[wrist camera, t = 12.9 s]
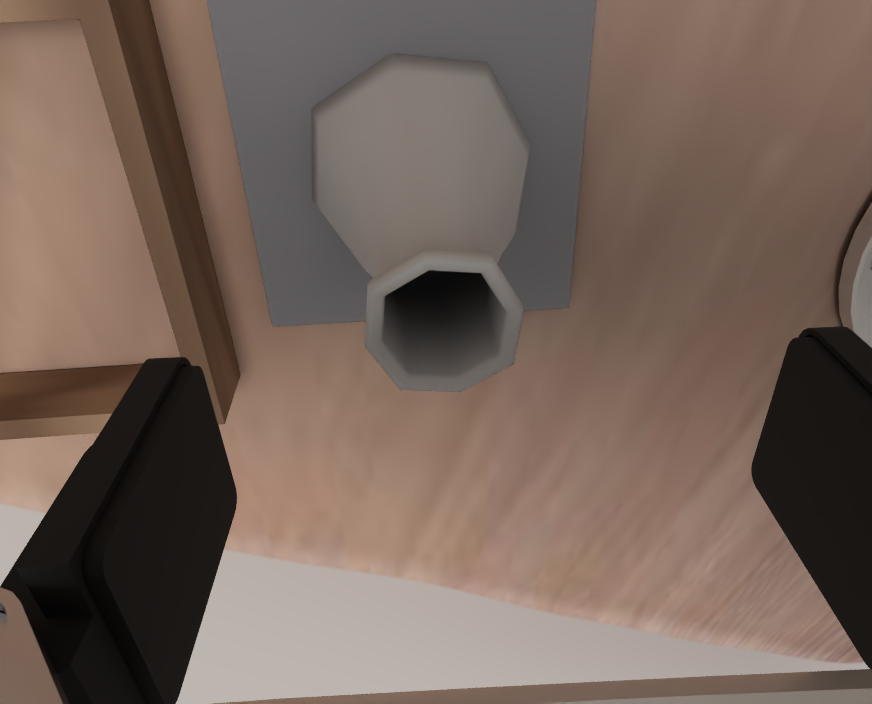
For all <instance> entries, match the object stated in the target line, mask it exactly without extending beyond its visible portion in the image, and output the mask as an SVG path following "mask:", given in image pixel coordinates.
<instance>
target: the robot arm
mask: <svg viewBox="0 0 872 704" xmlns="http://www.w3.org/2000/svg"><path fill="white" fill-rule="evenodd" d="M838 292H839V314H840V318H841V321H842V324H843V327H822V328H808V329H805V330H803V332H802V333H801V334H800V335H799V337H798V338H794V339H792V340H791V341H790V343H789V345H788V347H787V351H786V354H785V357H784V360H783V364H782V367H781V370H780V374H779V377H778V380H777V383H776V387H775V390H774V393H773V396H772V400H771V403H770V406H769V410H768V413H767V416H766V419H765V423H764V426H763V429H762V432H761V436H760V439H759V442H758V446H757V449H756V452H755V455H754V459H753V462H752V478H753V481H754V484H755V486H756V488H757V490H758V491H759V493H760V494H761V496H762V498H763V499H764V501H765V502H766V504H767V506H768V507H769V509H770V511H771V512H772V514H773V515H774V517H775V519H776V520H777V522H778V523H779V525H780V527H781V528H782V530H783V531H784V533H785V535H786V536H787V538H788V540H789V541H790V543H791V544H792V546H793V548H794V549H795V551H796V552H797V554H798V556H799V557H800V559H801V561H802V562H803V564H804V565H805V567H806V569H807V570H808V572H809V573H810V575H811V577H812V578H813V580H814V581H815V583H816V585H817V586H818V588H819V590H820V591H821V593H822V594H823V596H824V598H825V599H826V601H827V602H828V604H829V606H830V607H831V609H832V610H833V612H834V614H835V615H836V617H837V619H838V620H839V622H840V623H841V625H842V627H843V628H844V630H845V631H846V633H847V635H848V636H849V638H850V640H851V641H852V643H853V644H854V646H855V648H856V649H857V651H858V652H859V654H860V656H861V657H862V659H863V660H864V662H865V663H866V665H867V666H868V667H869V668H870V669H865V670H842V671H821V672H820V671H819V672H798V673H797V672H796V673H775V674H752V675H729V676H706V677H688V678H687V677H686V678H666V679H647V680H646V679H645V680H625V681H604V682H584V683H567V684H566V683H565V684H546V685H526V686H506V687H486V688H468V689H450V690H449V689H448V690H431V691H414V692H413V691H412V692H395V693H377V694H359V695H340V696H322V697H305V698H286V699H270V700H257V701H244V702H229V703H215V704H872V202H871V204H870V206H869V208H868V209H867V211H866V213H865V214H864V216H863V218H862V220H861V221H860V223H859V225H858V226H857V228H856V230H855V232H854V235H853V238H852V240H851V243H850V245H849V248H848V250H847V253H846V256H845V258H844V261H843V267H842V272H841V277H840V283H839V288H838ZM236 504H237V493H236V487H235V483H234V480H233V476H232V473H231V469H230V466H229V462H228V458H227V455H226V451H225V448H224V444H223V440H222V437H221V433H220V430H219V426H218V423H217V419H216V415H215V412H214V408H213V405H212V401H211V397H210V394H209V390H208V387H207V383H206V380H205V376H204V373H203V370H202V368H201V367H200V366H191V363H190V361H189V360H188V359H187V358H185V357H176V358H154V359H147V360H146V361H145V362H144V363H143V365H142V367H141V368H140V370H139V371H138V373H137V375H136V376H135V378H134V380H133V381H132V383H131V384H130V386H129V388H128V389H127V391H126V392H125V394H124V396H123V397H122V399H121V400H120V402H119V404H118V405H117V407H116V408H115V410H114V412H113V413H112V415H111V416H110V418H109V420H108V421H107V423H106V424H105V426H104V428H103V429H102V431H101V432H100V434H99V436H98V437H97V439H96V440H95V442H94V444H93V445H92V446H90V447H89V449H88V450H87V451H86V452H85V453H84V455H83V456H82V458H81V459H80V461H79V463H78V464H77V466H76V467H75V469H74V470H73V472H72V474H71V475H70V477H69V478H68V480H67V482H66V483H65V485H64V486H63V488H62V489H61V491H60V493H59V494H58V496H57V497H56V499H55V501H54V502H53V504H52V505H51V507H50V509H49V510H48V512H47V513H46V515H45V516H44V518H43V520H42V521H41V523H40V525H39V526H38V528H37V529H36V531H35V532H34V534H33V535H32V537H31V539H30V540H29V542H28V543H27V545H26V547H25V548H24V550H23V552H22V553H21V555H20V556H19V558H18V559H17V561H16V562H15V564H14V566H13V567H12V569H11V571H10V572H9V574H8V575H7V577H6V578H5V580H4V581H3V583H2V585H1V586H0V704H175V703H176V701H177V699H178V697H179V694H180V690H181V687H182V683H183V681H184V677H185V674H186V670H187V667H188V664H189V661H190V658H191V654H192V651H193V648H194V644H195V641H196V638H197V635H198V632H199V628H200V625H201V622H202V619H203V615H204V612H205V609H206V605H207V602H208V599H209V595H210V592H211V589H212V586H213V582H214V579H215V576H216V573H217V569H218V566H219V563H220V560H221V556H222V553H223V550H224V547H225V543H226V540H227V537H228V534H229V530H230V527H231V524H232V520H233V517H234V514H235V510H236Z"/></svg>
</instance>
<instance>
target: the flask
mask: <svg viewBox="0 0 872 704" xmlns="http://www.w3.org/2000/svg"><path fill="white" fill-rule="evenodd" d="M311 131H312V201H313V202H314V204H315V205H316V206H317V208H318V209H319V210H320V212H321V213H322V214H323V216H324V217H325V218H326V219H327V221H328V222H329V223H330V225H331V226H332V227H333V229H334V230H335V231H336V233H337V234H338V235H339V237H340V238H341V239H342V241H343V242H344V243H345V245H346V246H347V247H348V249H349V250H350V251H351V253H352V254H353V255H354V257H355V258H356V259H357V261H358V262H359V263H360V264H361V266H362V267H363V268H364V269H365V271H366V272H367V273H368V274H370V275H371V276H372V278H373V279H372V280H370V282H369V283H368V285H367V307H366V329H365V347H366V349H367V350H368V351H369V352H370V353H371V355H372V356H373V357H374V358H375V360H376V361H377V362H378V363H379V364H380V366H381V367H382V368H383V369H384V371H385V372H386V373H387V374H388V375H389V377H390V378H391V379H392V380H393V382H394V383H395V384H396V385H397V386H398V388H399V389H400V390H421V391H447V392H461V391H463V390H465V389H467V388H469V387H471V386H473V385H475V384H477V383H478V382H480V381H482V380H484V379H486V378H488V377H490V376H492V375H494V374H496V373H497V372H499V371H501V370H503V369H505V368H507V367H509V366H511V365H513V364H514V358H515V353H516V348H517V343H518V338H519V333H520V327H521V322H522V317H523V312H524V309H523V305H522V303H521V302H520V300H519V298H518V297H517V295H516V294H515V292H514V290H513V289H512V287H511V285H510V284H509V282H508V281H507V279H506V277H505V276H504V274H503V273H502V271H501V269H500V268H499V266H498V262H499V259H500V257H501V255H502V253H503V252H504V250H505V249H506V247H507V246H508V244H509V243H510V241H511V240H512V238H513V237H514V235H515V233H516V231H517V225H518V219H519V213H520V208H521V202H522V196H523V190H524V185H525V179H526V173H527V167H528V162H529V156H530V150H531V144H530V142H529V140H528V138H527V137H526V135H525V133H524V131H523V129H522V127H521V125H520V123H519V121H518V119H517V117H516V116H515V114H514V112H513V110H512V108H511V106H510V104H509V102H508V100H507V98H506V96H505V94H504V93H503V91H502V89H501V87H500V85H499V83H498V81H497V79H496V77H495V75H494V73H493V72H492V70H491V68H490V66H489V64H488V63H484V62H473V61H462V60H452V59H441V58H431V57H420V56H409V55H399V54H390V55H388V56H387V57H386V58H384V59H383V60H381V61H380V62H378V63H377V64H375V65H374V66H372V67H371V68H370V69H368V70H367V71H365V72H364V73H362V74H361V75H359V76H358V77H356V78H355V79H354V80H352V81H351V82H349V83H348V84H346V85H345V86H343V87H342V88H340V89H339V90H338V91H336V92H335V93H333V94H332V95H330V96H329V97H327V98H326V99H324V100H323V101H322V102H320V103H319V104H317V105H316V106H314V107H313V108H311Z"/></svg>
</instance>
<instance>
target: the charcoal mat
mask: <svg viewBox="0 0 872 704" xmlns="http://www.w3.org/2000/svg"><path fill="white" fill-rule="evenodd" d="M207 5H208V10H209V15H210V20H211V25H212V30H213V35H214V40H215V45H216V50H217V55H218V59H219V64H220V69H221V74H222V79H223V84H224V89H225V94H226V99H227V104H228V109H229V114H230V119H231V124H232V129H233V134H234V139H235V144H236V149H237V154H238V159H239V164H240V168H241V173H242V178H243V183H244V188H245V193H246V198H247V203H248V208H249V213H250V218H251V223H252V228H253V233H254V238H255V243H256V248H257V253H258V258H259V263H260V268H261V273H262V277H263V282H264V287H265V292H266V297H267V302H268V307H269V312H270V317H271V322H272V327H280V326H295V325H310V324H326V323H341V322H357V321H366V307H367V285H368V283H369V282H370V280H372V279H373V278H372V276H371V275H370V274H368V273H367V272H366V271H365V269H364V268H363V267H362V266H361V264H360V263H359V262H358V261H357V259H356V258H355V257H354V255H353V254H352V253H351V251H350V250H349V249H348V247H347V246H346V245H345V243H344V242H343V241H342V239H341V238H340V237H339V235H338V234H337V233H336V231H335V230H334V229H333V227H332V226H331V225H330V223H329V222H328V221H327V219H326V218H325V217H324V216H323V214H322V213H321V212H320V210H319V209H318V208H317V206H316V205H315V204H314V202H313V201H312V131H311V108H313V107H314V106H316V105H317V104H319V103H320V102H322V101H323V100H324V99H326V98H327V97H329V96H330V95H332V94H333V93H335V92H336V91H338V90H339V89H340V88H342V87H343V86H345V85H346V84H348V83H349V82H351V81H352V80H354V79H355V78H356V77H358V76H359V75H361V74H362V73H364V72H365V71H367V70H368V69H370V68H371V67H372V66H374V65H375V64H377V63H378V62H380V61H381V60H383V59H384V58H386V57H387V56H388V55H390V54H399V55H409V56H420V57H431V58H441V59H452V60H462V61H473V62H484V63H488V64H489V66H490V68H491V70H492V72H493V73H494V75H495V77H496V79H497V81H498V83H499V85H500V87H501V89H502V91H503V93H504V94H505V96H506V98H507V100H508V102H509V104H510V106H511V108H512V110H513V112H514V114H515V116H516V117H517V119H518V121H519V123H520V125H521V127H522V129H523V131H524V133H525V135H526V137H527V138H528V140H529V142H530V144H531V150H530V156H529V162H528V167H527V173H526V179H525V185H524V190H523V196H522V202H521V208H520V213H519V219H518V225H517V231H516V233H515V235H514V237H513V238H512V240H511V241H510V243H509V244H508V246H507V247H506V249H505V250H504V252H503V253H502V255H501V257H500V259H499V262H498V266H499V268H500V269H501V271H502V273H503V274H504V276H505V277H506V279H507V281H508V282H509V284H510V285H511V287H512V289H513V290H514V292H515V294H516V295H517V297H518V298H519V300H520V302H521V303H522V305H523V309H524V311H526V310H542V309H557V308H569V304H570V292H571V281H572V270H573V258H574V247H575V236H576V224H577V213H578V202H579V190H580V179H581V168H582V156H583V145H584V134H585V122H586V111H587V100H588V88H589V77H590V66H591V54H592V43H593V32H594V20H595V9H596V0H207Z"/></svg>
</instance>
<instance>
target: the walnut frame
mask: <svg viewBox="0 0 872 704" xmlns="http://www.w3.org/2000/svg"><path fill="white" fill-rule="evenodd" d="M66 19H80V23H81V26H82V29H83V33H84V36H85V39H86V43H87V46H88V49H89V53H90V56H91V59H92V63H93V66H94V69H95V72H96V76H97V79H98V82H99V86H100V89H101V92H102V96H103V99H104V102H105V106H106V109H107V112H108V116H109V119H110V122H111V126H112V129H113V132H114V136H115V139H116V142H117V146H118V149H119V152H120V156H121V159H122V162H123V166H124V169H125V172H126V176H127V179H128V182H129V186H130V189H131V192H132V196H133V199H134V202H135V206H136V209H137V212H138V216H139V219H140V222H141V225H142V229H143V232H144V235H145V239H146V242H147V245H148V249H149V252H150V255H151V259H152V262H153V265H154V269H155V272H156V275H157V279H158V282H159V285H160V289H161V292H162V295H163V299H164V302H165V305H166V309H167V312H168V315H169V319H170V322H171V325H172V329H173V332H174V335H175V339H176V342H177V345H178V349H179V352H180V355H181V357H185V358H187V359H188V360H189V361H190V363H191V366H200V367H201V368H202V370H203V373H204V376H205V380H206V383H207V387H208V390H209V394H210V397H211V401H212V405H213V408H214V412H215V415H216V419H217V423H218V424H225V421H226V418H227V415H228V412H229V409H230V406H231V403H232V399H233V396H234V393H235V390H236V387H237V384H238V381H239V378H240V372H239V368H238V364H237V360H236V355H235V351H234V347H233V343H232V339H231V335H230V331H229V327H228V323H227V319H226V315H225V311H224V306H223V302H222V298H221V294H220V290H219V286H218V282H217V278H216V274H215V270H214V266H213V262H212V258H211V253H210V249H209V245H208V241H207V237H206V233H205V229H204V225H203V221H202V217H201V213H200V209H199V204H198V200H197V196H196V192H195V188H194V184H193V180H192V176H191V172H190V168H189V164H188V160H187V155H186V151H185V147H184V143H183V139H182V135H181V131H180V127H179V123H178V119H177V115H176V111H175V107H174V102H173V98H172V94H171V90H170V86H169V82H168V78H167V74H166V70H165V66H164V62H163V58H162V53H161V49H160V45H159V41H158V37H157V33H156V29H155V25H154V21H153V17H152V13H151V9H150V5H149V0H0V23H2V22H23V21H45V20H66ZM142 365H143V364H138V365H123V366H108V367H93V368H78V369H63V370H48V371H33V372H18V373H3V374H0V440H4V439H19V438H33V437H47V436H61V435H75V434H90V433H100V432H101V431H102V429H103V428H104V426H105V424H106V423H107V421H108V420H109V418H110V416H111V415H112V413H113V412H114V410H115V408H116V407H117V405H118V404H119V402H120V400H121V399H122V397H123V396H124V394H125V392H126V391H127V389H128V388H129V386H130V384H131V383H132V381H133V380H134V378H135V376H136V375H137V373H138V371H139V370H140V368H141V367H142Z"/></svg>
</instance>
